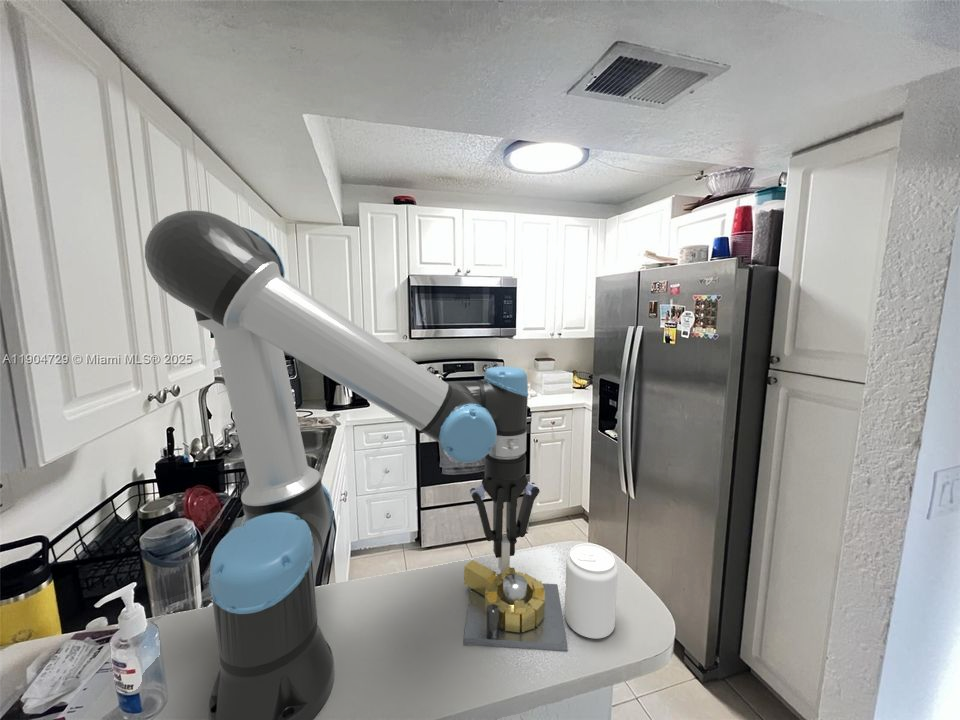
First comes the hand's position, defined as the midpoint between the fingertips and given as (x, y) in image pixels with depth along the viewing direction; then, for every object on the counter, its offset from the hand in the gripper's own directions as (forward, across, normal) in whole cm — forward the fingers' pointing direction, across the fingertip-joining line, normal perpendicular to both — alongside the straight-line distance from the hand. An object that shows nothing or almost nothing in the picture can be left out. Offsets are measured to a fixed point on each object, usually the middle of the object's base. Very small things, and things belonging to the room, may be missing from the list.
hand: (503, 570), depth 75 cm
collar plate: (+3, 0, -8) cm, 8 cm away
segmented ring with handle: (+1, -2, -6) cm, 6 cm away
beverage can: (+3, +12, -12) cm, 17 cm away
